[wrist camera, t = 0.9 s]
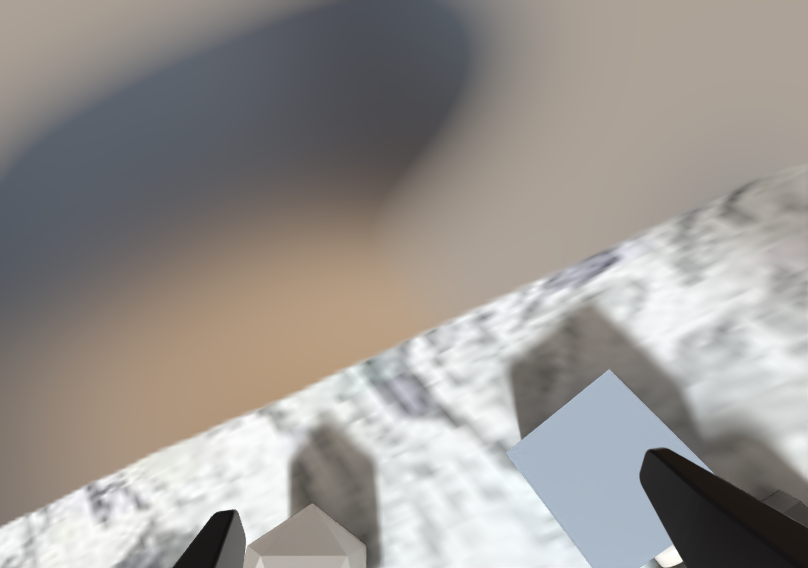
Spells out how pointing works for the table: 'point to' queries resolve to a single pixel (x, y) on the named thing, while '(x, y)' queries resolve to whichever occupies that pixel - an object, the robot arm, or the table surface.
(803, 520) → the clip bracket
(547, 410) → the table surface
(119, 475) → the table surface
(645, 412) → the blue-gray block
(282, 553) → the die
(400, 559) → the table surface
